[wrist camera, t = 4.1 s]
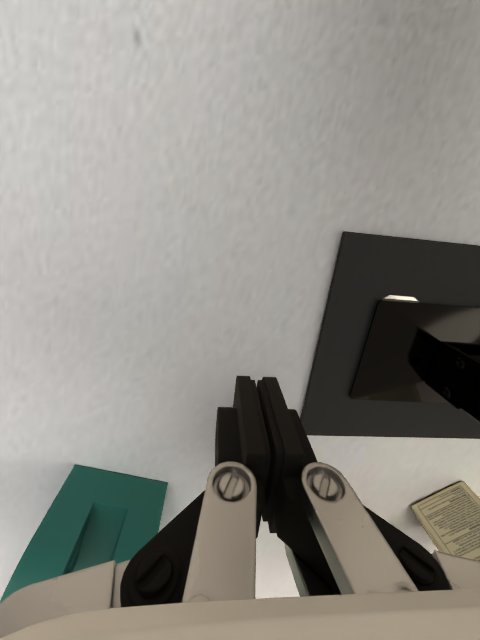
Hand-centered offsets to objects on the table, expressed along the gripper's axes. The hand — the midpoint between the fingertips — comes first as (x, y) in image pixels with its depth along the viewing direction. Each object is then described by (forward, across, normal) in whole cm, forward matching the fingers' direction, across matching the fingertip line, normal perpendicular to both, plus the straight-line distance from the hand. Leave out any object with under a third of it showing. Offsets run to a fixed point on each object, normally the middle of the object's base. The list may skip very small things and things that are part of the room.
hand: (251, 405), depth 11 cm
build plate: (+5, -14, 0) cm, 15 cm away
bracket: (+6, +10, +20) cm, 23 cm away
